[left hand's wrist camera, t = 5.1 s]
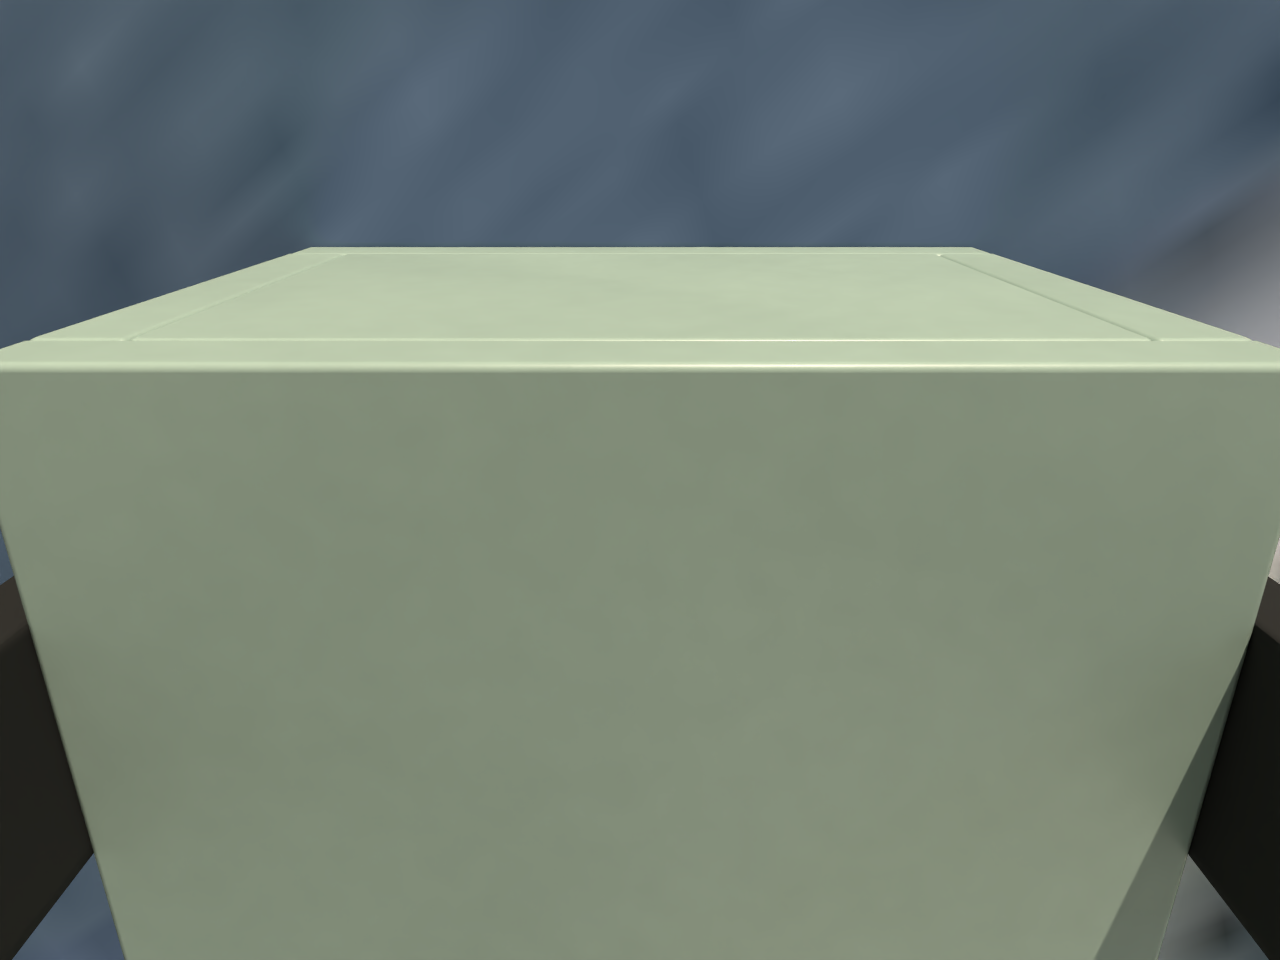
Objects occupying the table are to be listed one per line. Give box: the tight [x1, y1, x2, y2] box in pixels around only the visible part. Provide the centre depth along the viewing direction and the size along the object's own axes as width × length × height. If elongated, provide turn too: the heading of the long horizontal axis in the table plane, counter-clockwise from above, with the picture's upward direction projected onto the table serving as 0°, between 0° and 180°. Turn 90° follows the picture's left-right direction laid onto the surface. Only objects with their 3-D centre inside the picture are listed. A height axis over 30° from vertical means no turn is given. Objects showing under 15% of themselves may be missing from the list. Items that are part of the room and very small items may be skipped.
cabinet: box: [0, 247, 1280, 960], centre depth 15 cm, size 20×11×8 cm, turn 0°
